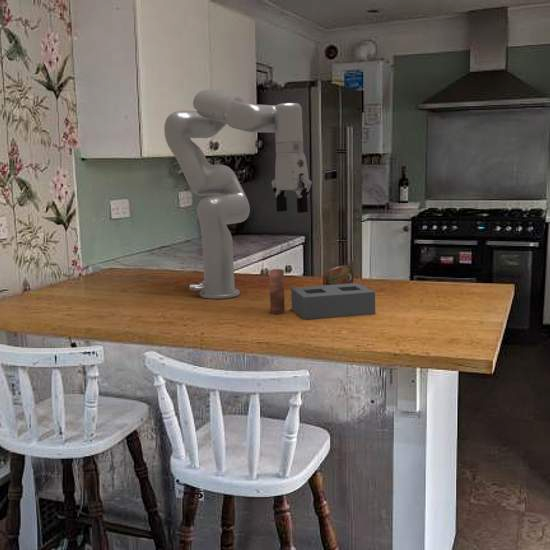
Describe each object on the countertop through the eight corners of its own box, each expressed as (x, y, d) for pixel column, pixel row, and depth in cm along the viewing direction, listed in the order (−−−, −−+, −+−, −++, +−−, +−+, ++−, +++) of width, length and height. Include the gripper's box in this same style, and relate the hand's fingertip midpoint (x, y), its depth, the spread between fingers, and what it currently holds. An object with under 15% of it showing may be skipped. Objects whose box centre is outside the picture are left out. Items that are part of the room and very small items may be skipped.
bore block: (304, 319, 185) (303, 297, 184) (291, 308, 198) (291, 287, 197) (375, 313, 189) (375, 292, 188) (358, 303, 202) (357, 282, 201)
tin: (329, 298, 211) (329, 270, 209) (321, 297, 212) (320, 270, 211) (354, 289, 222) (354, 263, 221) (345, 288, 224) (345, 263, 223)
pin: (272, 314, 191) (270, 272, 189) (269, 311, 195) (267, 269, 193) (286, 313, 192) (285, 271, 190) (283, 310, 195) (281, 268, 193)
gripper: (319, 147, 185) (322, 211, 188) (282, 150, 199) (284, 209, 202) (297, 148, 181) (299, 214, 184) (260, 151, 195) (263, 211, 198)
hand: (292, 211), depth 193 cm, fingers open, 9 cm apart
